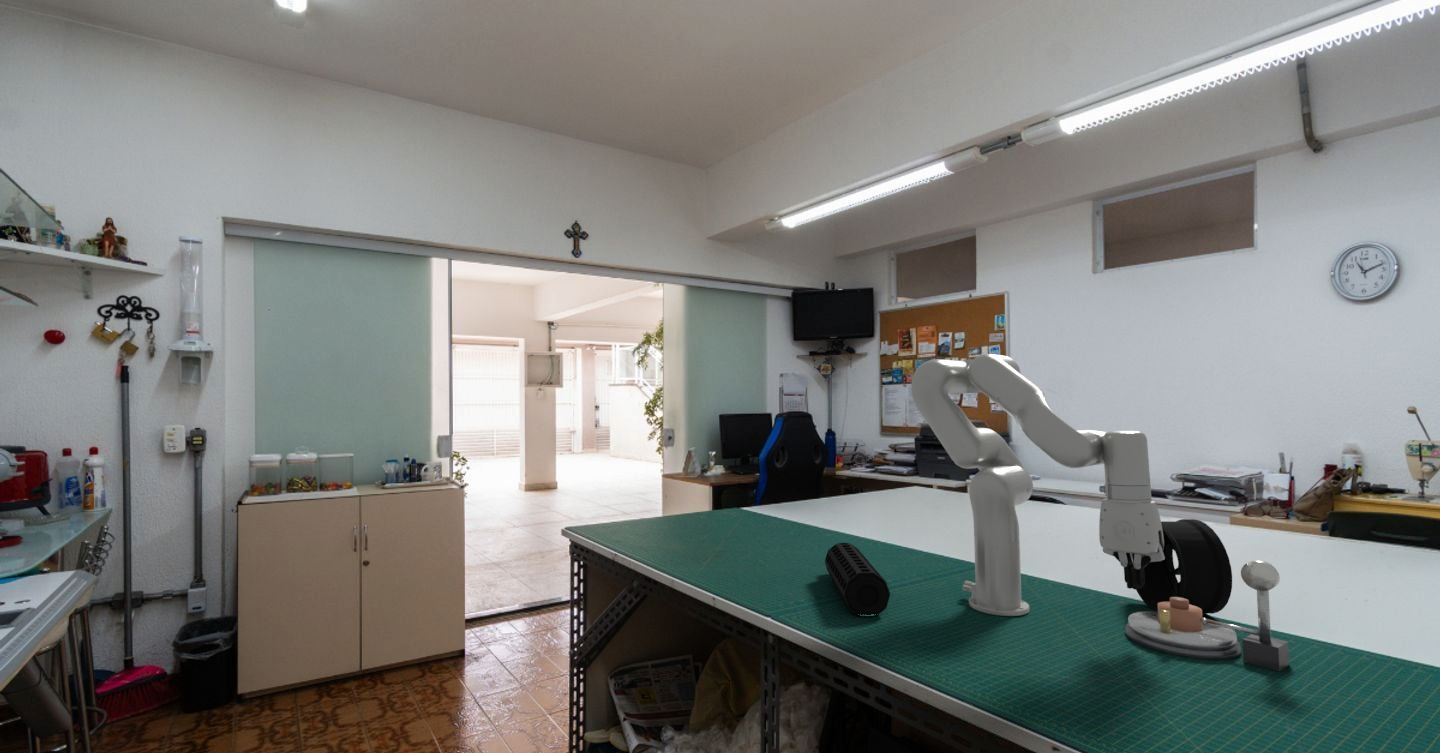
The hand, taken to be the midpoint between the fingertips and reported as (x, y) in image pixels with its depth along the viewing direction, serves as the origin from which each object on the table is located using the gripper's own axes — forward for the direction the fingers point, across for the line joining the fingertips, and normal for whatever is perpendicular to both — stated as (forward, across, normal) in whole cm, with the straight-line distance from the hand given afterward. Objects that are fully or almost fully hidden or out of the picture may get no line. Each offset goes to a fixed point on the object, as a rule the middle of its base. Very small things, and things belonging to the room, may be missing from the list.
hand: (1135, 587), depth 125 cm
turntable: (+9, +5, +6) cm, 12 cm away
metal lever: (+10, +14, +6) cm, 19 cm away
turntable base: (+10, +5, +6) cm, 13 cm away
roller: (+9, -55, -22) cm, 60 cm away
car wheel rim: (+10, -3, +26) cm, 28 cm away
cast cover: (+7, +5, +6) cm, 11 cm away
